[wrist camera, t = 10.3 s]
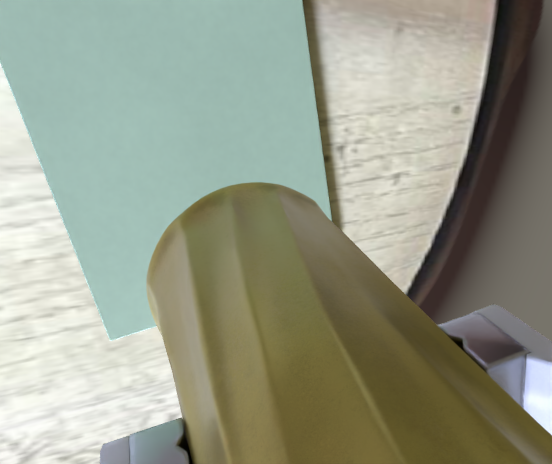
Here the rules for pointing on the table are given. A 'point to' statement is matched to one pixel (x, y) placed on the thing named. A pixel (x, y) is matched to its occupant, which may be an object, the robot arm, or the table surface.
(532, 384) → the robot arm
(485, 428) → the vase
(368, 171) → the table surface
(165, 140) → the mat
